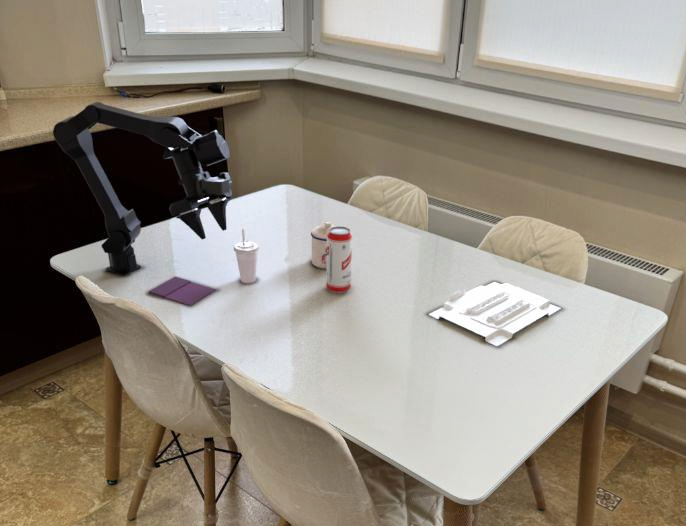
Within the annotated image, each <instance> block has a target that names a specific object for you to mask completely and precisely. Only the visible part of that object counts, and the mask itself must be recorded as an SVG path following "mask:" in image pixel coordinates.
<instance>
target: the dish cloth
mask: <svg viewBox="0 0 686 526" xmlns="http://www.w3.org/2000/svg"><path fill="white" fill-rule="evenodd" d="M216 290H217V289H216V288H212V287H210V286H206V285H203V284H199V283H196V282H192V281H191V280H188V279H185V278H181V277H179V276H174V277H172V278H170V279H168V280H166V281H164V282H163V283H160V284H159V285H157V286H155V287H153V288H151V289H149V290H148V293H149V294H151V295H154V296H157V297H162V298H164V299H168V300H171V301H174V302H178V303H179V304H183V305H186V306H193V305H194V304H195V303H197V302H199V301H200V300H203V299H204V298H205V297H207V296H208V295H210V294H211V293H214V292H216Z"/></svg>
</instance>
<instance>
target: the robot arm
mask: <svg viewBox="0 0 686 526" xmlns="http://www.w3.org/2000/svg"><path fill="white" fill-rule="evenodd" d="M97 124H101V125H104V126H108V127H113V128H116V129H119V130H124V131H127V132H131V133H135V134H139V135H142V136H145V137H148V139H150V140H151V141H152V142H154V143H157V144H159V145H161V146H163V147H165V152H164V153H163V156H162V158H163V160H167V159H172V161H173V163H174V166H175V168H176V171H177V174H178V176H179V180H177V184H178V185H179V186H180V185H182V186H183V187H182V188H183V189H184V192H185V194H186V196H185V197H183V199H181V200H178V201H175V202H172V203H170V205H169V208H168V209H169V212H170V214H171V217H175V218H176V219H178V220H180V221H182V222H183V223H184V224H185V225H186V226H187V227H188V228H189V229H190V230H192V231H193V233H195V234H196V235H197V236H198V238H200V239H201V240H205V239H206V238H207V237H206V232H205V229H204V226H203V223H202V219H201V213H202V208H200V207H199V206H200V205H203V204H208V205H206V208H207V210H208V211H209V213H210V214H211V215H212V217H213V218H214V220H215V222H216V223H217V225H218V226H219V228H220V229H221V230H222V231H223V232H224V231H227V230H228V229H227V228H228V227H227V206H228V203H229V202H230V201H231V200H232V199H231V197H232V196H233V192H232V189H231V188H230V187H231V186H232V185H233V183H234V182H233V181H232V178H231V176H230V174H229V172H220V173H219V174H218V176H214V177H211V175H210V173H209V172H208V171H206V170H205V171H204V170H203V168H202V165H204V166H207V167H208V166H212V165H214V164H217V163H220V162H222V161H225V160H228V159H229V158H230V156H231V155H230V148H229V146H228V143H227V141H226V140H225V138H224V137H223V136H222V135H220V134H219V132H218V130H217V129H215V130H212V131H210V132H209V133H206V134H203V135H202V134H200V133H198V132H197V131H195V130H194V129H192V128H191V127H190V126H188V125H187V123H186V122H185V120H184V119H182V118H180V117H178V116H169V115H168V116H167V115H156V116H155V115H154V116H153V115H147V114H142V113H138V112H135V111H131V110H127V109H125V108H119V107H117V106H112V105H109V104H104V103H103V102H101V101H95V102H92V103H90V104H87V105H86V106H85V107H84V109H82V110H81V111H79V113H77V114H76V115H72V116H69V117H66V118H65V119H63V120H61V121H58V122H56V123H55V125H54V126H53V130H52V136H53V138H54V140H55V141H56V143H57V144H58V146H59V147H60V148H61V150H62V151H63V152H64V153H65V154H67V155H68V156H69V157H70V158H72V159H73V160H74V161H75V163H76V165H77V166H78V168H79V170H80V172H81V175H82V176H83V177H84V180H85V181H86V183H87V185H88V187H89V189H90V191H91V192H92V194H93V196H94V197H95V200H96V202H97V203H98V206H99V208H100V209H101V210H102V213H103V215H104V224H105V229H106V232H107V235H108V238H107V239H106V240H105V241H104V242H103V243H102V244H101V245H100V246H101V248H102V250H103V252H104V253H105V254H107V256H108V262H109V266H108V267H106V268H105V271H106V272H110V273H113V274H117V275H119V276H123V277H124V276H128V274H130V273H133V272H134V271H137V270H139V269H141V267H142V266H141V264H137V257H136V254H135V250H134V249H135V248H134V247H133V246H132V245H133V244H134V243H135V242H136V239H137V238H138V237H139V236H140V234H141V231H142V229H141V228H142V227H141V223H142V222H141V221H140V220H139V219H138V217H137V214H136V212H135V210H134V209H133V208H132V209H130V210H128V209H126V207H124V206H123V205H122V203H121V201H120V200H119V198H118V197H119V196H118V195H117V194H116V192H115V189H114V188H113V186H112V184H111V182H110V181H109V180H110V179H108V176H107V174H106V173H105V171H104V169H103V167H102V165H101V164H100V161H99V160H98V157H97V156H96V154H95V151H94V145H93V137H92V134H91V131H90V130H91V129H92V128H93V127H95V126H96V125H97Z"/></svg>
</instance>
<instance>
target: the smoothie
mask: <svg viewBox="0 0 686 526" xmlns="http://www.w3.org/2000/svg"><path fill="white" fill-rule="evenodd" d="M241 234H242V237H241V238H242V240H241V241H238V242H236V243H234V245H233V251H234V253H235V257H236V262H237V267H238V268H237V269H238V273H239V277H240V281H241V283H243V284H254V283H255V282H256V276H257V264H258V253H259V250H260V244H259V243H257V242H255V241H252V240H246V236H245V235H246V234H245V228H242V229H241Z"/></svg>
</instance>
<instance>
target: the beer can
mask: <svg viewBox="0 0 686 526" xmlns="http://www.w3.org/2000/svg"><path fill="white" fill-rule="evenodd" d="M329 231H330V232H329V234H328V235H327V269H326V271H325V272H326V277H325V279H326V280H325V281H326V283H325V285H326V288H327V290H328V291H329V292H331V293H333V294H345V293H347V292H348V291H349V290H350V289H351V286H352V260H353V259H352V258H353V255H352V254H353V235H352V234H351V229H350V228H348V227H345V226H340V225H339V226H335V227H332V228H330V230H329Z"/></svg>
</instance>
